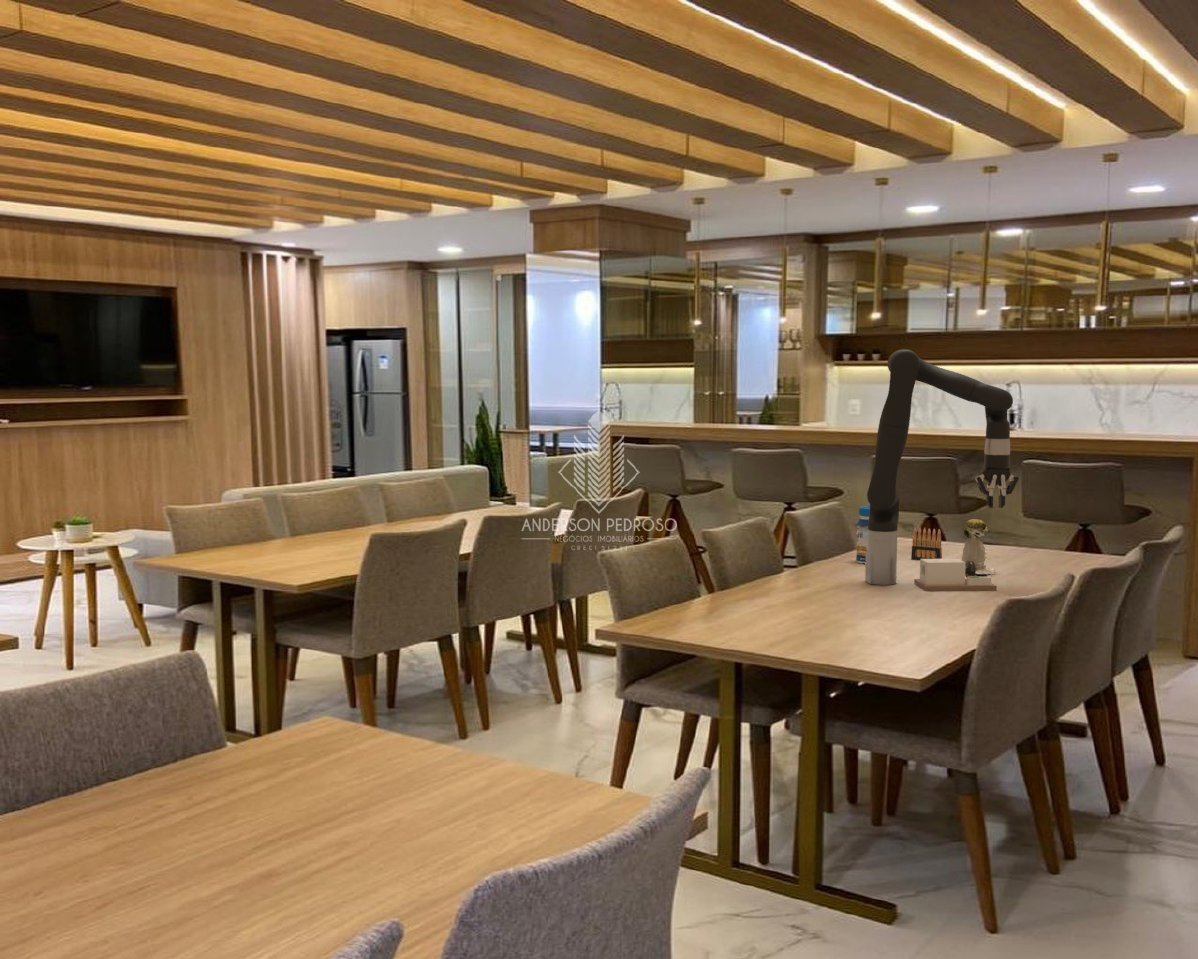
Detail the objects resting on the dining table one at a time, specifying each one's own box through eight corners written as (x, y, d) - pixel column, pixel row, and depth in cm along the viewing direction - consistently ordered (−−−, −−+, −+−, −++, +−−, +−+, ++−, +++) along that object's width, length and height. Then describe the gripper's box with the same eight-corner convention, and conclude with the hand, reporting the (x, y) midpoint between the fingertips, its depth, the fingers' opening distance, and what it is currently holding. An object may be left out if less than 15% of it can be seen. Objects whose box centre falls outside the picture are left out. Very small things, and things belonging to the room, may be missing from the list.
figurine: (948, 573, 356) (949, 519, 354) (965, 567, 365) (967, 515, 363) (982, 577, 347) (983, 522, 346) (999, 572, 357) (1000, 518, 355)
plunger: (934, 582, 326) (935, 564, 326) (926, 577, 335) (927, 559, 334) (978, 581, 326) (978, 563, 326) (969, 576, 334) (969, 559, 334)
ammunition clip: (911, 559, 383) (911, 527, 382) (912, 559, 385) (913, 526, 383) (940, 562, 377) (941, 529, 376) (941, 561, 378) (942, 528, 377)
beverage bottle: (880, 564, 373) (881, 508, 371) (856, 564, 375) (857, 508, 373) (879, 560, 381) (880, 506, 379) (855, 560, 383) (856, 505, 381)
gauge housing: (925, 591, 326) (926, 564, 325) (914, 583, 338) (914, 557, 337) (996, 590, 326) (997, 563, 325) (982, 583, 338) (983, 557, 337)
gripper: (979, 454, 326) (977, 509, 328) (1024, 453, 326) (1022, 508, 328) (970, 452, 334) (969, 506, 335) (1014, 452, 334) (1013, 506, 335)
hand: (995, 507), depth 332 cm, fingers closed
